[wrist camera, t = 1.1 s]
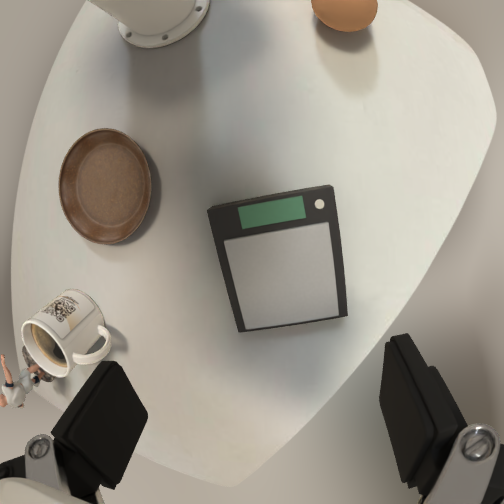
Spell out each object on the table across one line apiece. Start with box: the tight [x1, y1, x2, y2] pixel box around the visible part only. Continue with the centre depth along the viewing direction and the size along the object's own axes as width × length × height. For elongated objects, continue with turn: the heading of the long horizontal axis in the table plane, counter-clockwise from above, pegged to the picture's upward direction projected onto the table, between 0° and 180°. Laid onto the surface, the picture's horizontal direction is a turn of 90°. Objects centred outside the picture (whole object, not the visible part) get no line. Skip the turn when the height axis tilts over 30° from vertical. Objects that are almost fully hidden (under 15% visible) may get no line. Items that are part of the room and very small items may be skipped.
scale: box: [207, 185, 348, 332], centre depth 34 cm, size 16×14×3 cm
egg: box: [311, 0, 378, 32], centre depth 21 cm, size 7×7×8 cm
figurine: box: [0, 345, 56, 408], centre depth 38 cm, size 15×9×18 cm, turn 166°
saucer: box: [59, 128, 151, 244], centre depth 33 cm, size 15×15×3 cm
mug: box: [21, 289, 111, 377], centre depth 37 cm, size 10×12×11 cm
